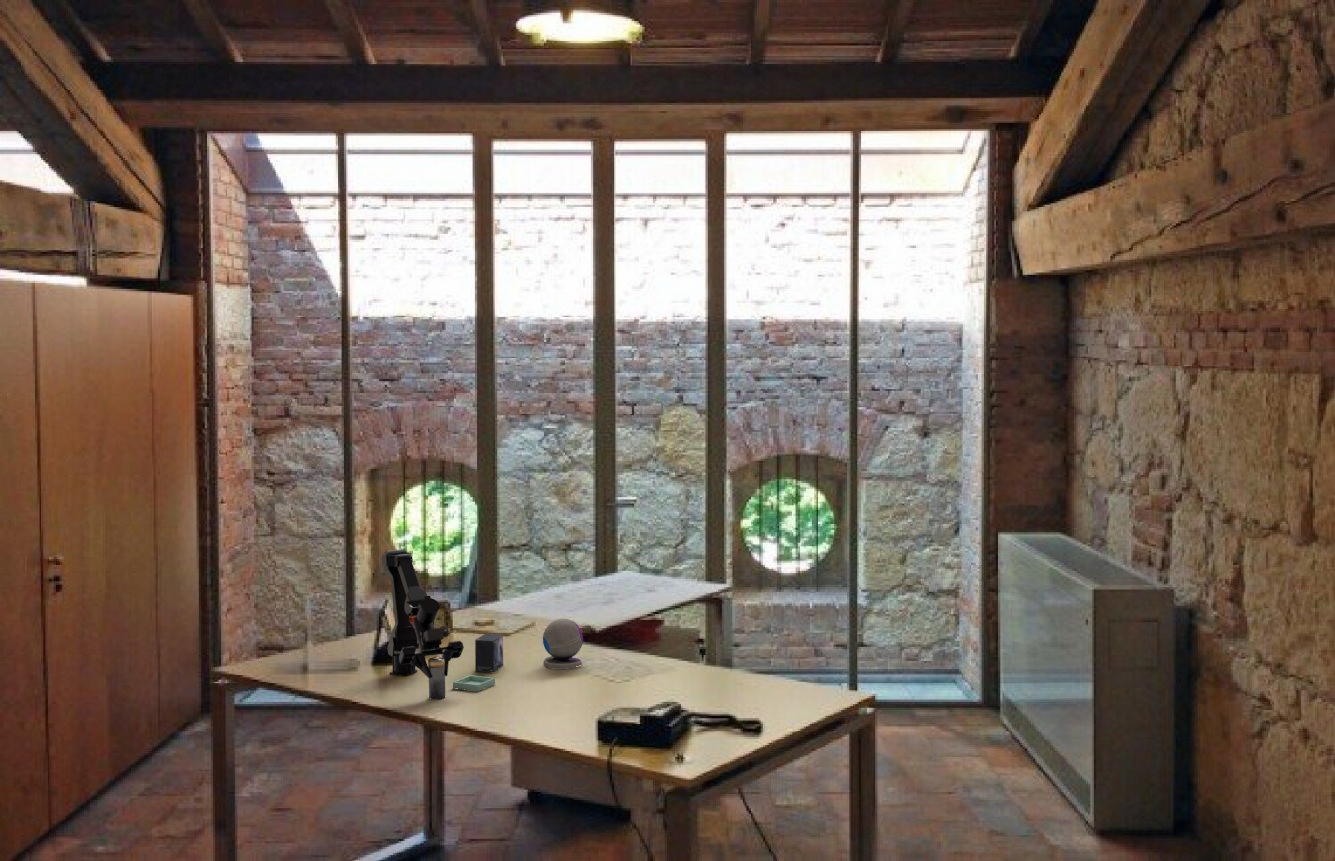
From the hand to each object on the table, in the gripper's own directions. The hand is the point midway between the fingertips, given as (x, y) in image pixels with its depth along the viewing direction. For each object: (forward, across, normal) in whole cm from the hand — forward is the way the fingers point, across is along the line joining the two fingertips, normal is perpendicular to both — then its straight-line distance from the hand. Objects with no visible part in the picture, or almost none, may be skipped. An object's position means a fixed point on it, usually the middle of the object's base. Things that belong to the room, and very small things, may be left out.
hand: (438, 676), depth 427 cm
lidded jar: (+4, 0, +6) cm, 7 cm away
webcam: (-9, +48, +19) cm, 53 cm away
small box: (-14, +26, +24) cm, 38 cm away
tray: (-1, +14, +10) cm, 17 cm away
